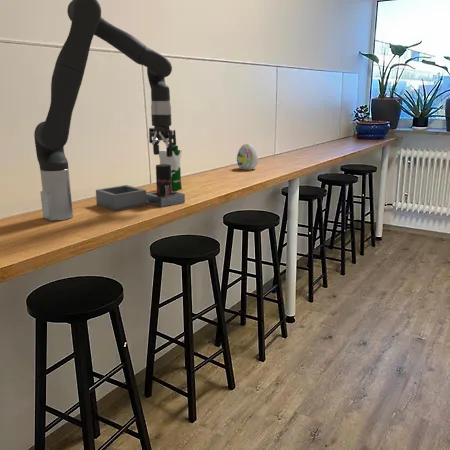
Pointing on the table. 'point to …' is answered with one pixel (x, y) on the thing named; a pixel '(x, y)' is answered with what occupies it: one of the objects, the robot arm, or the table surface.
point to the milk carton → (173, 166)
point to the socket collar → (165, 199)
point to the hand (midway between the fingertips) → (162, 155)
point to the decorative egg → (247, 157)
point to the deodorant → (163, 180)
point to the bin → (121, 197)
